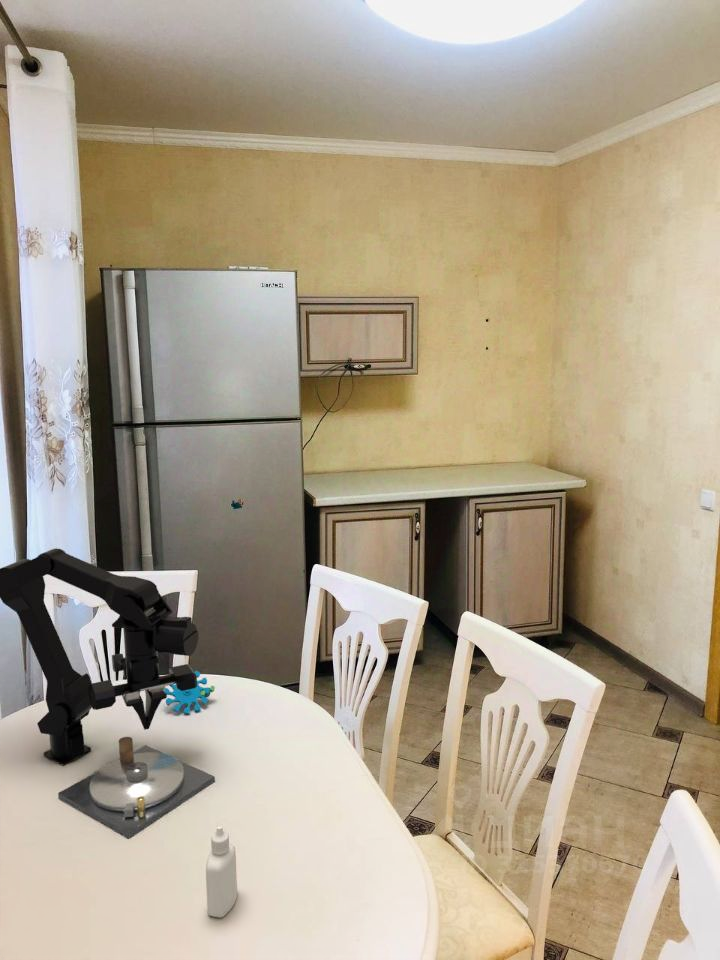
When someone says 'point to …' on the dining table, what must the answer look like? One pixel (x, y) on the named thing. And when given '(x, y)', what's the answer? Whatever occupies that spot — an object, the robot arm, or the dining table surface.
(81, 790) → the base
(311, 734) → the dining table surface
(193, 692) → the gear
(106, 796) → the metal crank wheel
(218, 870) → the eye dropper bottle
